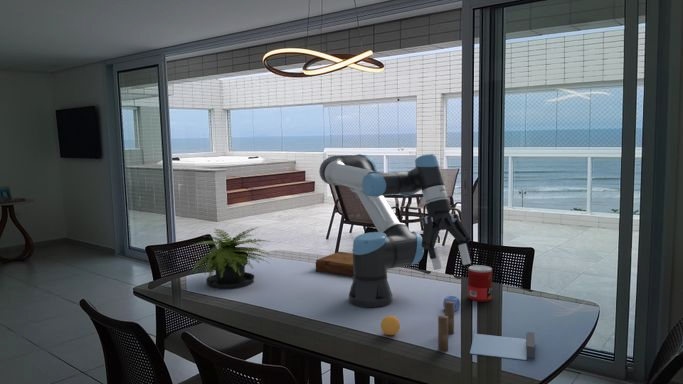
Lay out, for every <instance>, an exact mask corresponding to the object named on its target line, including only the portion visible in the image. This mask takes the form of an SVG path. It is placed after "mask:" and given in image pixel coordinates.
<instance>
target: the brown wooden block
mask: <svg viewBox="0 0 683 384" xmlns="http://www.w3.org/2000/svg"><path fill="white" fill-rule="evenodd" d="M315 271H316V272H317V273H323V274H329V275H336V276H337V275H338V276H343V277H344V276H345V277H350V278H354V277H353V252H344V251H337V252H334V253H331V254H328V255H327V256H324V257H321V258H318V259H316V261H315Z"/></svg>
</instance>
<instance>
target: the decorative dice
mask: <svg viewBox="0 0 683 384" xmlns="http://www.w3.org/2000/svg"><path fill="white" fill-rule="evenodd" d="M446 301H452V302H454V312H456V311H458V310H459V309H460V305H461V301H460V299H459V298H458V297H457V296H455V295H447V296H446V297H445V298H444V299H443V303H442V305H443V308H444V309H445V302H446Z"/></svg>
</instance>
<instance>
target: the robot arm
mask: <svg viewBox="0 0 683 384" xmlns="http://www.w3.org/2000/svg"><path fill="white" fill-rule="evenodd" d="M414 162H415V167H414V168H413V169H411V170H407V171H392V172H379V171H377V170H378V169H377V164H376V162H375V160H374V159H373V158H372V157H371V156H369V155H367V154H358V153H357V154H352V155H351V154H350V155H349V154H348V155H347V154H346V155H343V154H342V155H332V156H329V157H327V158H326V159H324V160H323V161H322V162H321V163H320V165H319V171H318V172H319V178H320V179H321V180H322V181H323V182H324V183H325V184H327V185H329V186H330V185H331V186H345V187H348V189H349V190H350V191H351V192H353V193H356V195H357V197H358V198H359V200H360V201H361V203H362V205H363V207H364V208H365V211H366V213H367V214H368V216H369V217H370V219H371V221H372V223H373V225H374V227H375V228H376V230H377V231H373V232H372V231H371V232H366V233H365V232H364V233H362V234H359V235H357V236H356V237H355V238H354V240H353V242H352V253H353V277H352V279H353V280H352V283H351V286H350V289H349V293H348V302H349V304H351V305H352V306H353V305H354V306H357V307H360V308H380V307H385V306H388V305H390V304H391V303H393V293H392V290H391V287H390V285H389V281H388V270H390V269H395V268H402V267H407V266H408V267H409V266H413V265H417V264H418V263H420V261H421V260H422V259H423V256H424V253H425V250H427V252H428V256H429V258H430V260H431V263H432V269H433V270H434V271H436V270H441V269H443V267H442V263H441V260H440V254H439V251H438V247H437V246H436V243H437V239H438V237H439V234H440V231H446V232H448V233H450V235H451V236H452V237H453V238H454V239H455V240H456V241H457V242H458V244H459V245H457V247H458V250H459V255H460V258H461V263H462V265H463V266H465V265H470V264H472V261H471V258H470V257H471V256H470V251H469V248H468V244H469V242H470V241H471V237H470V236H469V234H468V232H467V231H466V228H465V227H464V226H463V224H462V223H461V221H460V217H459V216H458V213H454V214H452V215H451V213H450V212H451V210H452V208H451V204H450V200H449V199H448V197H449V196H448V193H447V189H446V184H445V180H444V176H443V172H442V168H441V164H440V161H439V158H438V155H436V154H434V153H428V154H422V155H420V156H418V157H416V158H415V161H414ZM420 191H422V196H423V201H424V204H425V210H426V213H427V215H428V216H425V217H423V219H422V220H423V229H422V235H421V234H420V233H419V232H416V231H411V230H410V229H409V228H408V227H409V226H407V224H405V223H403V222H400V220H399V218H398V217H397V215H396V214H395V212H394V211H393V209H392V207H391V206H390V204H389V203H388V201H387V199H386V198H385V196H392V195H394V196H395V195H401V196H403V197H408V196H409V197H410V196H413V195H415V194H417V193H418V192H420ZM435 246H436V247H435Z"/></svg>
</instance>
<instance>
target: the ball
mask: <svg viewBox="0 0 683 384" xmlns="http://www.w3.org/2000/svg"><path fill="white" fill-rule="evenodd" d="M400 326H401V323H400V321H399V319H398V317H396V316H394V315H387V316H385V317H383V318H382V319H381V322H380V328H381V331H382V332H383V333H384V334H385V335H388V336H393V335H396V334H397V333H398V332H399V330H400V329H401V327H400Z"/></svg>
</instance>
